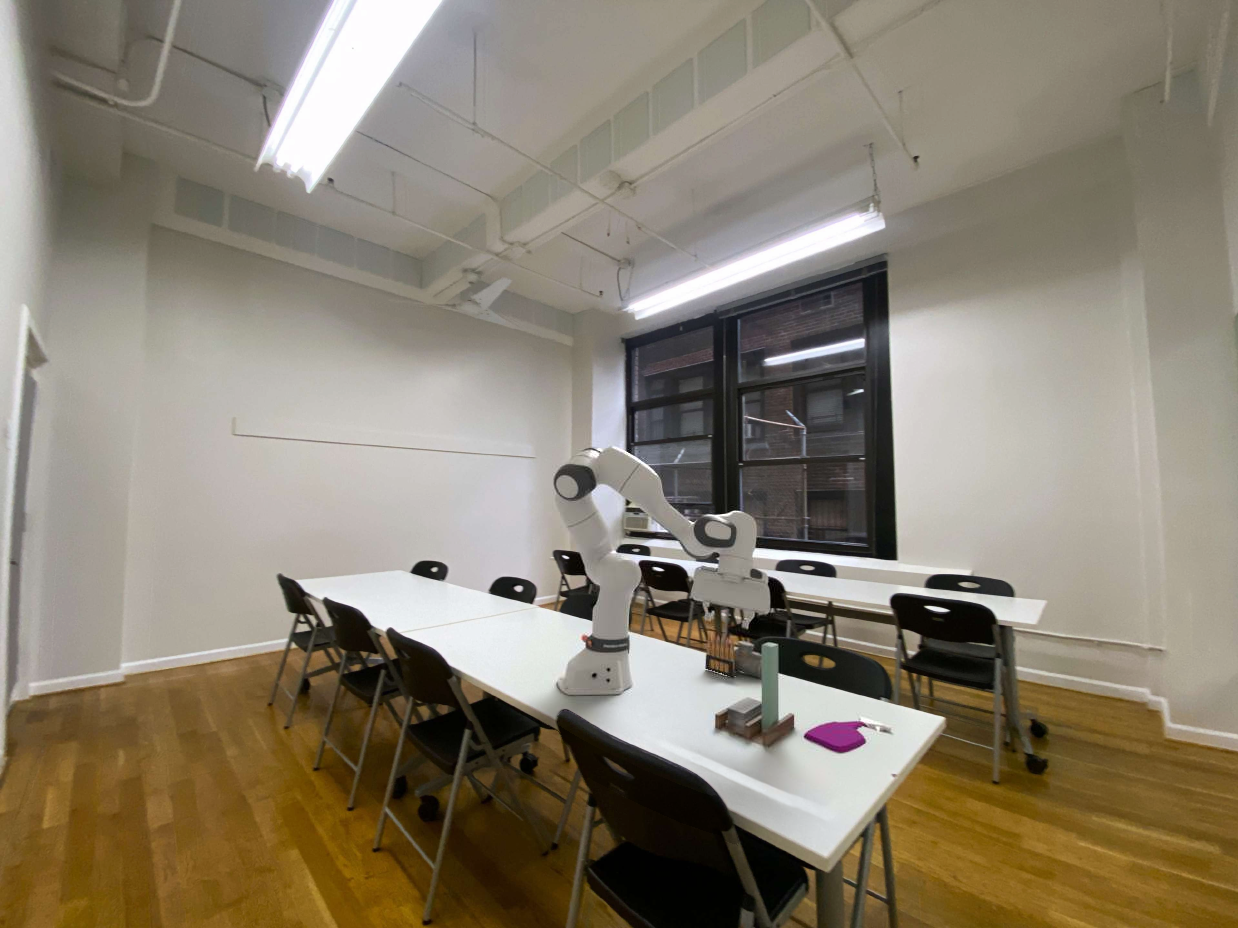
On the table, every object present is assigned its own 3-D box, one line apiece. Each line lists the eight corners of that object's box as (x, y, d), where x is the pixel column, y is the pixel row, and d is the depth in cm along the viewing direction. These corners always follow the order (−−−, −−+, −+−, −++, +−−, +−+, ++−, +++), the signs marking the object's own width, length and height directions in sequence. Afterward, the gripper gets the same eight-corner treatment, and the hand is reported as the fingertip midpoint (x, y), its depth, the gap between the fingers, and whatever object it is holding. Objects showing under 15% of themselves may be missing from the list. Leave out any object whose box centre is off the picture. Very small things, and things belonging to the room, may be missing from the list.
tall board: (761, 733, 113) (761, 644, 115) (768, 728, 116) (768, 642, 118) (771, 736, 112) (771, 647, 113) (778, 731, 114) (778, 644, 116)
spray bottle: (798, 744, 112) (853, 720, 127) (844, 764, 104) (897, 737, 118) (798, 730, 113) (853, 708, 127) (843, 750, 104) (897, 724, 118)
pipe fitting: (722, 671, 159) (727, 640, 160) (732, 667, 165) (737, 637, 166) (758, 684, 152) (762, 651, 152) (767, 680, 158) (771, 648, 159)
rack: (715, 733, 116) (715, 714, 116) (744, 716, 126) (744, 698, 126) (768, 754, 106) (768, 732, 107) (795, 733, 117) (795, 714, 117)
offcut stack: (725, 727, 116) (725, 708, 116) (748, 714, 124) (748, 695, 124) (744, 734, 112) (744, 714, 113) (766, 720, 120) (766, 701, 121)
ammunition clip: (705, 669, 162) (705, 632, 163) (708, 668, 163) (708, 631, 164) (733, 678, 154) (733, 639, 155) (736, 677, 156) (736, 638, 157)
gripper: (694, 561, 131) (684, 613, 125) (773, 575, 123) (766, 631, 118) (697, 567, 136) (688, 617, 131) (773, 581, 129) (766, 634, 124)
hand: (725, 624), depth 124 cm, fingers open, 8 cm apart
